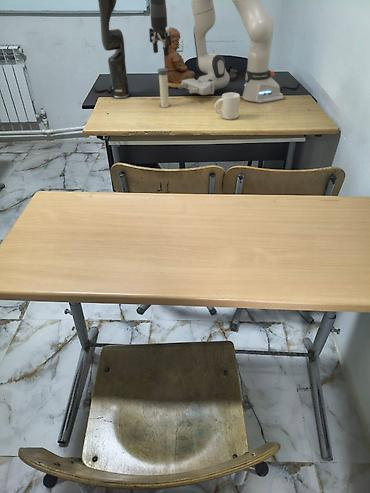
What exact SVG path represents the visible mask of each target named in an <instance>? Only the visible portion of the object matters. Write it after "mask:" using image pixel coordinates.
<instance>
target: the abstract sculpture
mask: <svg viewBox="0 0 370 493" xmlns="http://www.w3.org/2000/svg"><path fill="white" fill-rule="evenodd" d="M225 69H226V71H227V73H228V74H229V78H230V79H229V82H234V81H235V80H238V75H239V71H238V70H237V68H236V69H233V66H232V64H231V65H230V64H227V63H226V62H225ZM205 75H208V74H201V76H205Z"/></svg>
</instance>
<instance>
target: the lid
mask: <svg viewBox="0 0 370 493" xmlns="http://www.w3.org/2000/svg"><path fill="white" fill-rule="evenodd" d="M157 73H158V76H159V75H167V74H168V69H166V68H165V67H162V68H158V69H157Z"/></svg>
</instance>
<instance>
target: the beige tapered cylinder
mask: <svg viewBox="0 0 370 493" xmlns="http://www.w3.org/2000/svg"><path fill="white" fill-rule="evenodd" d="M158 79H159V80H158V84H159V83H160V85H159V97H160V107H161V108H169V107H170V96H169V88H168V78H167V75H159V74H158Z"/></svg>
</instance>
